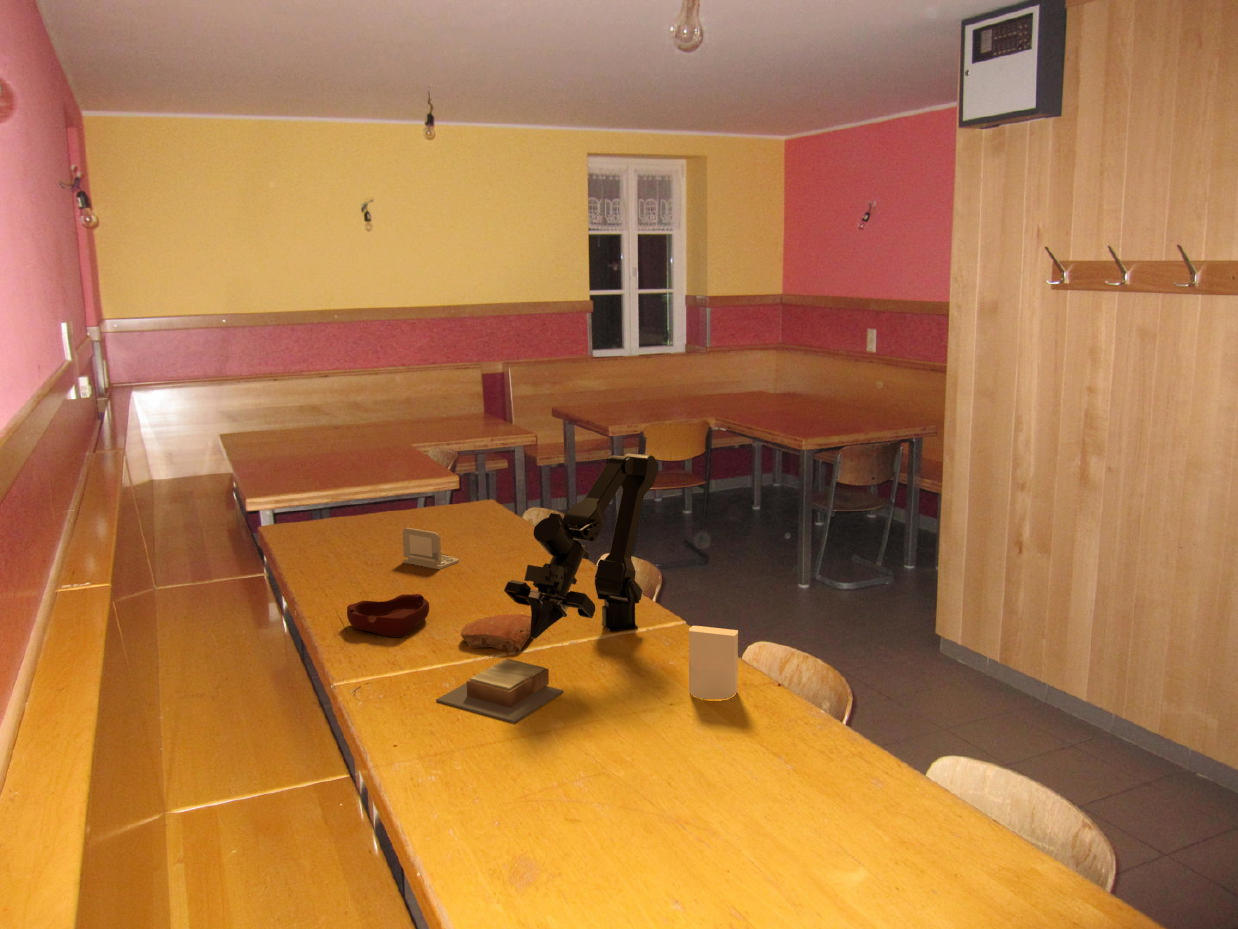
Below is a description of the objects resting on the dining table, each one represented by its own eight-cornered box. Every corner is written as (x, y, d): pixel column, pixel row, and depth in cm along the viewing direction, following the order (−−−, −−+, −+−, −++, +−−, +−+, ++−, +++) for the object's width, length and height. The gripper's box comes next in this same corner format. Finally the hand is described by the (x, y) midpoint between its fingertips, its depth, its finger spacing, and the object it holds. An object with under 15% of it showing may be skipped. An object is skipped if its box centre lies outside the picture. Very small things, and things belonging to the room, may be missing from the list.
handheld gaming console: (461, 561, 267) (459, 526, 265) (438, 570, 260) (436, 534, 258) (425, 555, 274) (423, 521, 272) (402, 563, 266) (400, 528, 265)
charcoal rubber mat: (487, 673, 190) (487, 671, 190) (563, 692, 181) (563, 690, 181) (436, 701, 178) (436, 699, 178) (514, 723, 169) (514, 721, 169)
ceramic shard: (478, 603, 217) (542, 616, 214) (474, 631, 218) (537, 644, 215) (454, 616, 203) (523, 631, 200) (450, 646, 203) (518, 661, 200)
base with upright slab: (741, 685, 184) (742, 625, 181) (731, 704, 175) (732, 641, 173) (695, 679, 187) (696, 620, 184) (683, 698, 178) (683, 636, 176)
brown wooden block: (506, 657, 189) (466, 678, 178) (548, 667, 183) (509, 689, 173) (506, 673, 189) (467, 696, 179) (548, 683, 184) (510, 707, 174)
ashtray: (360, 647, 205) (359, 625, 204) (344, 624, 220) (342, 603, 219) (442, 633, 213) (441, 611, 212) (421, 611, 228) (420, 591, 227)
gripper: (507, 541, 193) (474, 611, 186) (585, 553, 183) (554, 628, 176) (532, 568, 201) (501, 636, 194) (608, 581, 191) (579, 653, 184)
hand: (532, 637), depth 187 cm, fingers closed
